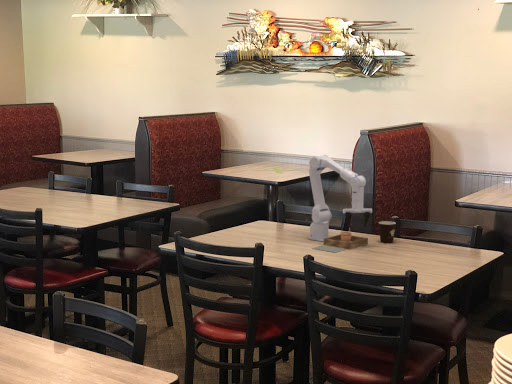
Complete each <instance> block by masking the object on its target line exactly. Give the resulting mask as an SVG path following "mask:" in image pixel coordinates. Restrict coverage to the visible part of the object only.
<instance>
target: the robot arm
mask: <svg viewBox="0 0 512 384" xmlns="http://www.w3.org/2000/svg"><path fill="white" fill-rule="evenodd" d="M308 164H309V168H308V173H309V180H310V186H311V191H312V198H313V203H314V206H313V208H312V209H311V212H312V213H311V219H312V222H311V223H310V226H309V237H308V240H311V241H312V240H313V241H317V242H324V239H325V238H329V226H330V225H329V223H330V221H331V219H332V217H333V216H332V212H331V211H330V207H329V206H328V205H327V204H326V202H325V201H326V200H325V196H324V191H323V190H324V189H323V184H322V178H321V174H322V172H323V171H324V170H325V169H326V168H328V169H330V170H332V171H334V172H336V173H337V174H339V176H340V178H341V179H343V180H344V181H345V182H347V183H349V185H350V188H351V207H350V208H342V214H344V216H345V219H346V221H347V225H348V228H350V229H351V227H352V224H351V223H352V221H351V220H352V214H360V213H361V214H363V224H362V225H363V227H364V228H366V227H367V223H368V220H369V218H370V216H371V214H372V213H373V208H371V207H370V208H366V207H364V197H365V195H364V194H365V193H364V191H365V187H366V185H367V179H366V177H365V176H364V175H359V174H358V173H356V172H354V171H353V170H351V168H350V167H349V168H348V167H345V168H344V167H342V165H340V164H338V163H337V162H336V161H334V160H333V159H332V157H330V156H329V155H327V154H324V155H313V156H312V157H311V158H310V159H309V161H308Z"/></svg>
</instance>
